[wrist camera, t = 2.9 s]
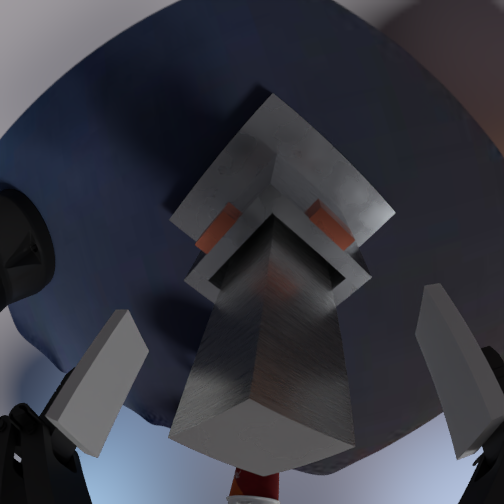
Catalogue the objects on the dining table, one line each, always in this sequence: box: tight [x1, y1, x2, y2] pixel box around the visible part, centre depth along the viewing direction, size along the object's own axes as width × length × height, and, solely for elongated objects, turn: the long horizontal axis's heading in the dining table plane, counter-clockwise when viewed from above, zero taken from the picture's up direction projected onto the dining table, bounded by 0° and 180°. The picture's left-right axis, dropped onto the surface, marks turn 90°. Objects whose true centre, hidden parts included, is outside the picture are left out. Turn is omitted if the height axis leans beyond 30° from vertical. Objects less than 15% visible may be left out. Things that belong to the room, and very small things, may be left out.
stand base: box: [170, 93, 395, 306], centre depth 20 cm, size 14×14×12 cm
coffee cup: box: [226, 467, 280, 504], centre depth 37 cm, size 8×8×15 cm
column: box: [168, 213, 355, 476], centre depth 15 cm, size 4×4×19 cm
